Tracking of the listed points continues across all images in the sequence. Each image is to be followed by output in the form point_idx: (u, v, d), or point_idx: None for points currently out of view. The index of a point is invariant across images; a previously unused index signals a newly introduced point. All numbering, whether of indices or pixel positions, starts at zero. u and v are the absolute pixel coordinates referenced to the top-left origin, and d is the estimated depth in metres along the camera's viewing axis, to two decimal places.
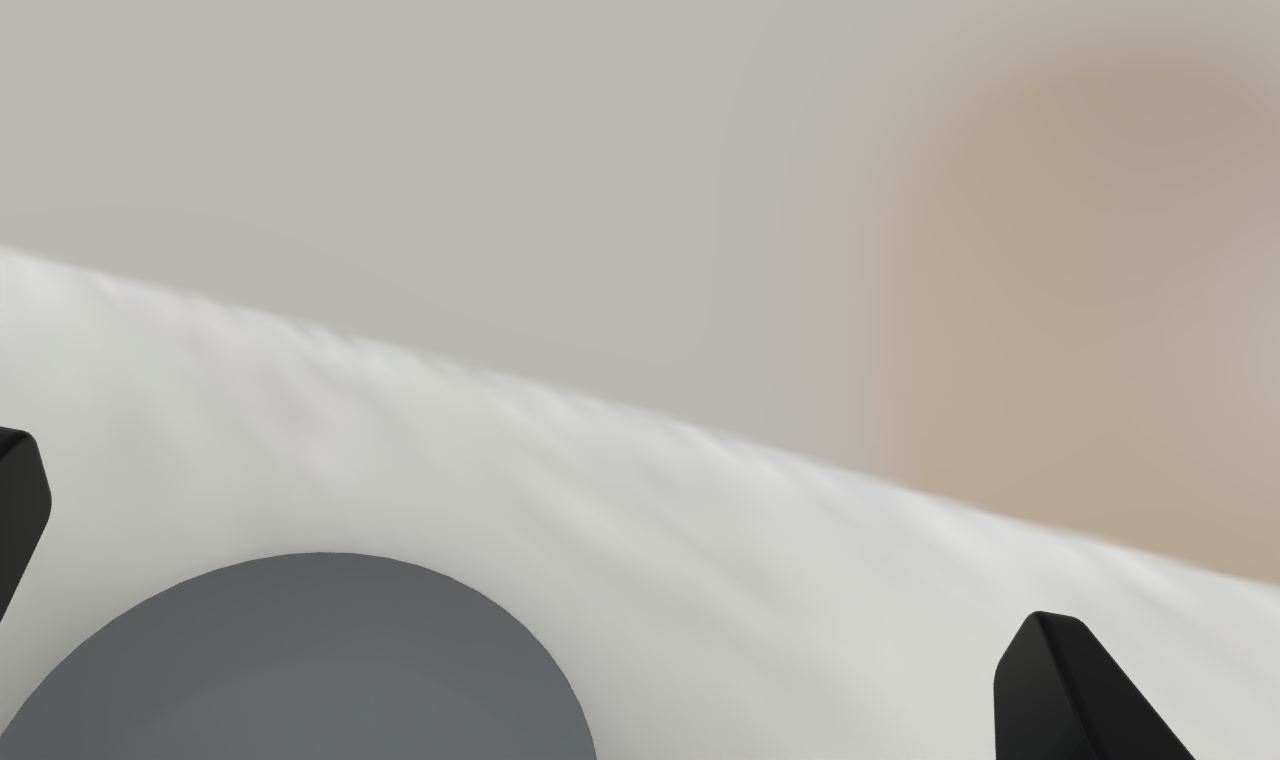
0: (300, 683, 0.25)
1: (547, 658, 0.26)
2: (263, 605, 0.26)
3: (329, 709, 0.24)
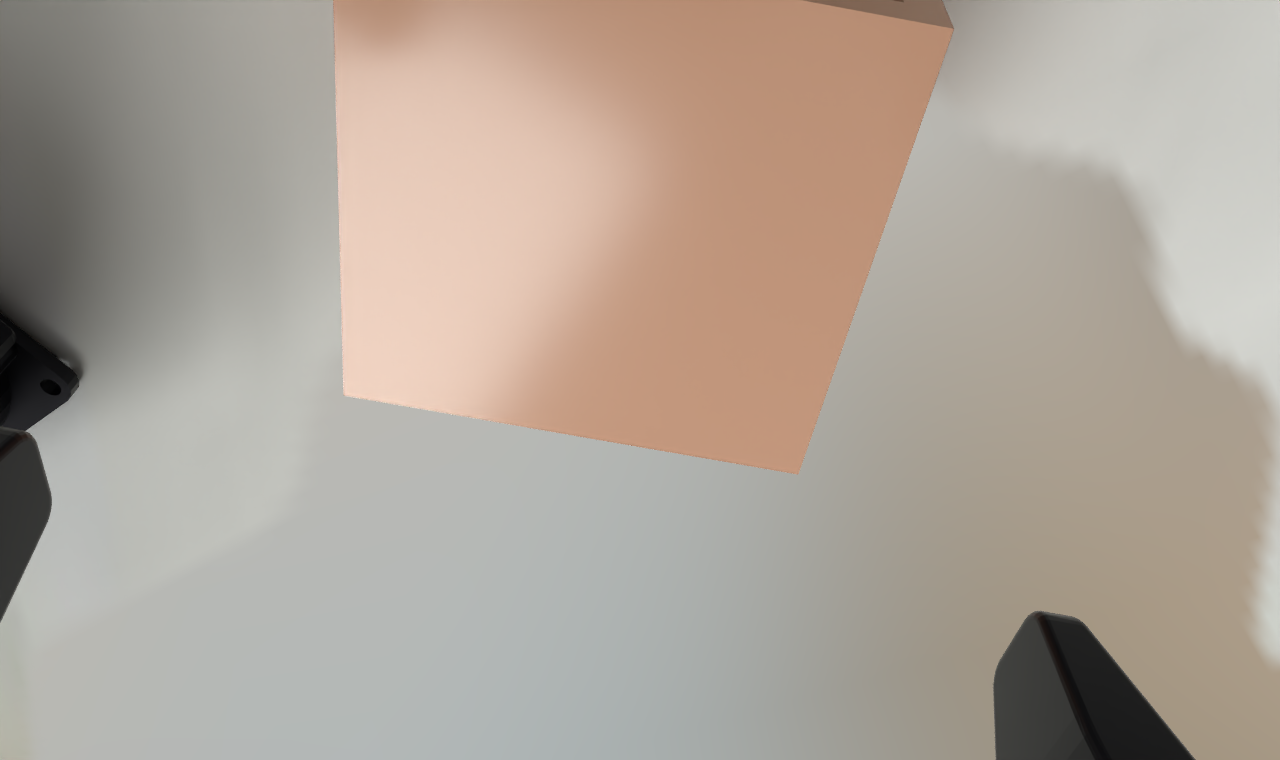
0: None
1: None
2: None
3: None
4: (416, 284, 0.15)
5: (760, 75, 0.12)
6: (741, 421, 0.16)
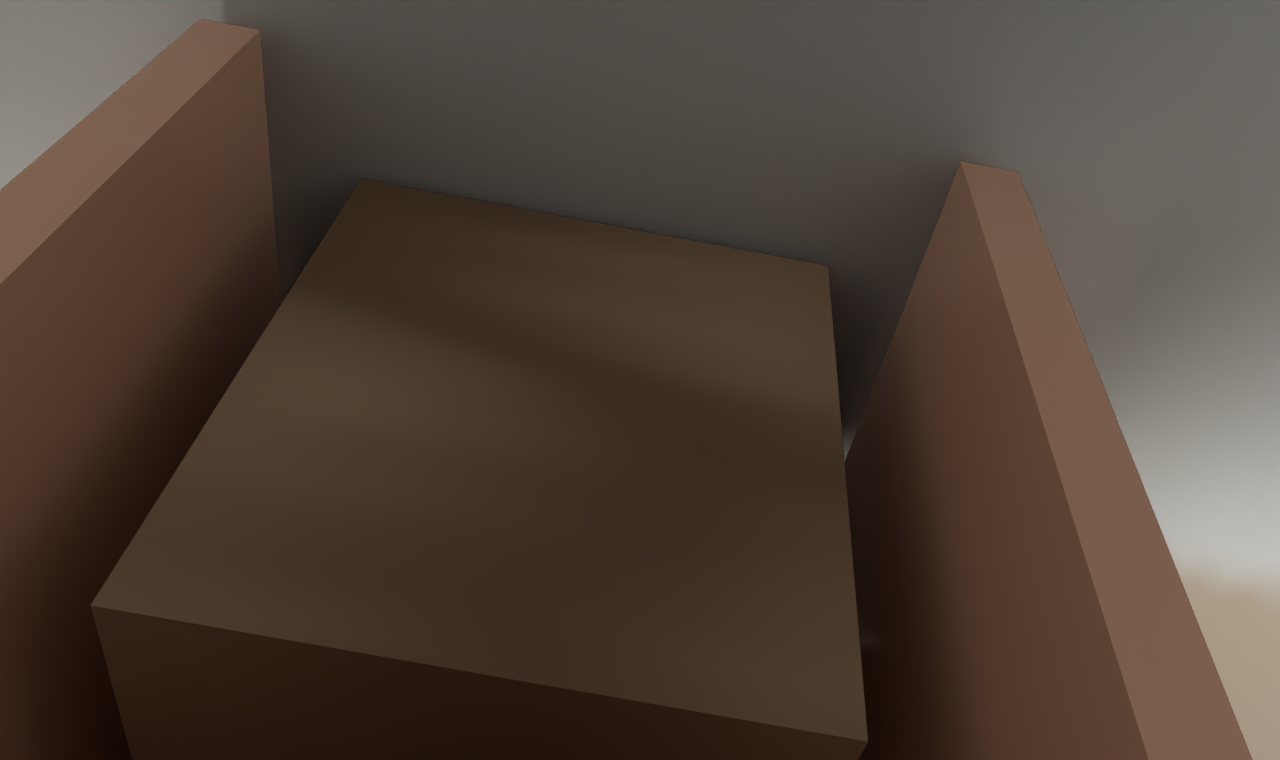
0: None
1: None
2: None
3: None
4: None
5: None
6: None
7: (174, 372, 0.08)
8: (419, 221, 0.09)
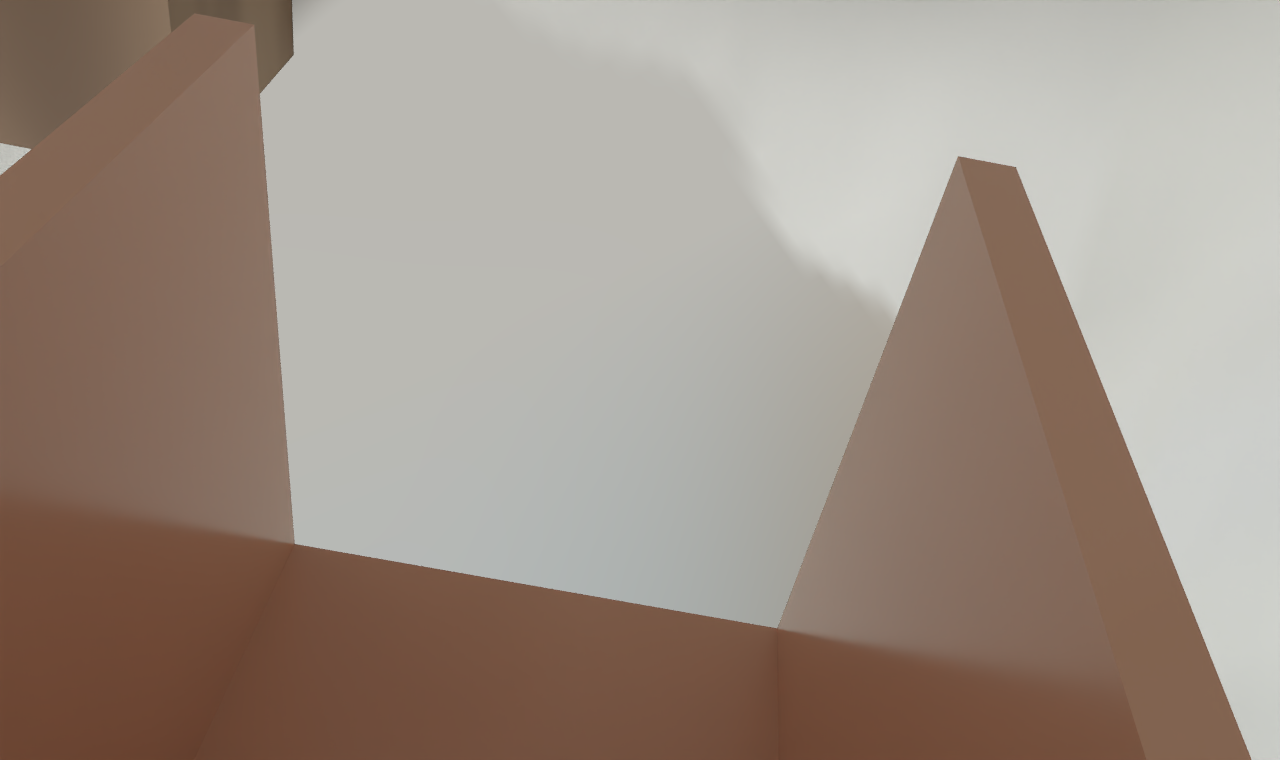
0: None
1: None
2: None
3: None
4: None
5: None
6: None
7: (167, 368, 0.08)
8: None
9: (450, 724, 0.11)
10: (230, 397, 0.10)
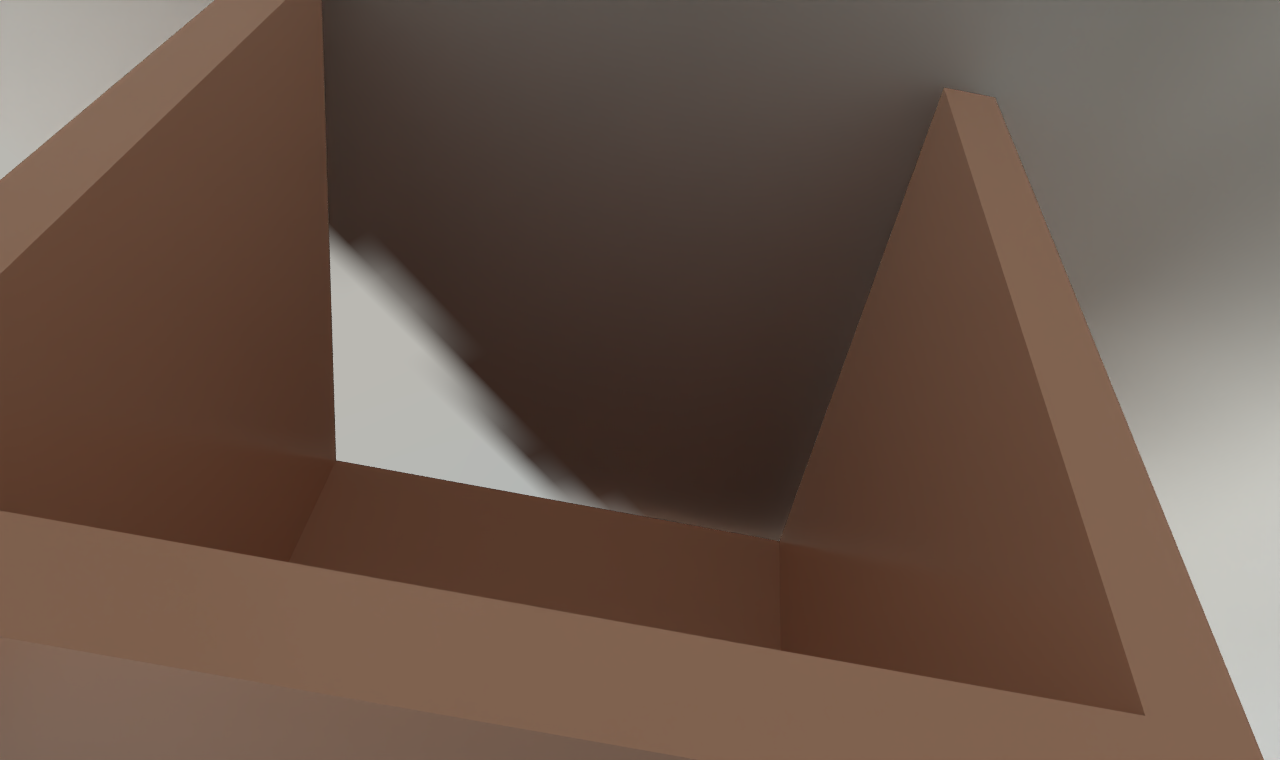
0: None
1: None
2: None
3: None
4: None
5: None
6: None
7: (246, 265, 0.09)
8: None
9: None
10: (290, 306, 0.11)
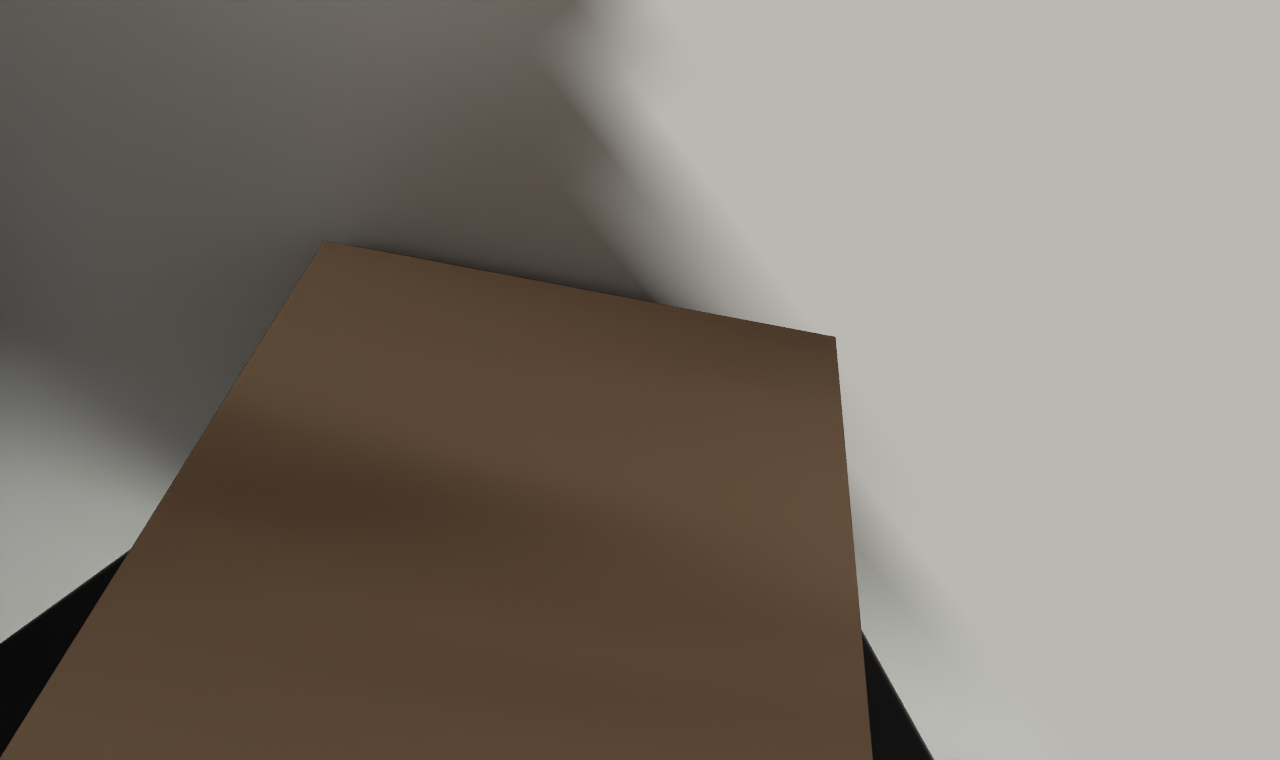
0: None
1: None
2: None
3: None
4: None
5: None
6: None
7: None
8: None
9: None
10: None
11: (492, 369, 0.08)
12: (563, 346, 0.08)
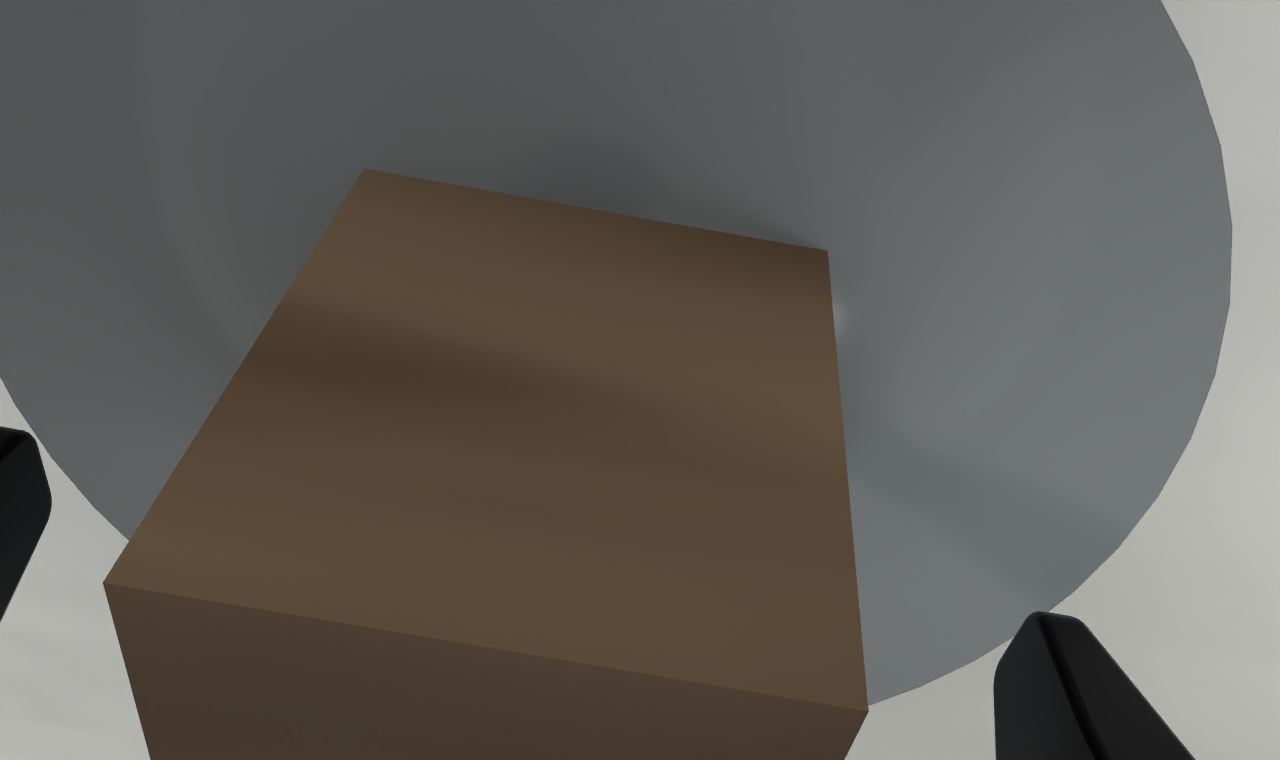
0: None
1: None
2: (92, 197, 0.10)
3: None
4: None
5: None
6: None
7: None
8: None
9: None
10: None
11: (519, 274, 0.09)
12: (582, 255, 0.09)
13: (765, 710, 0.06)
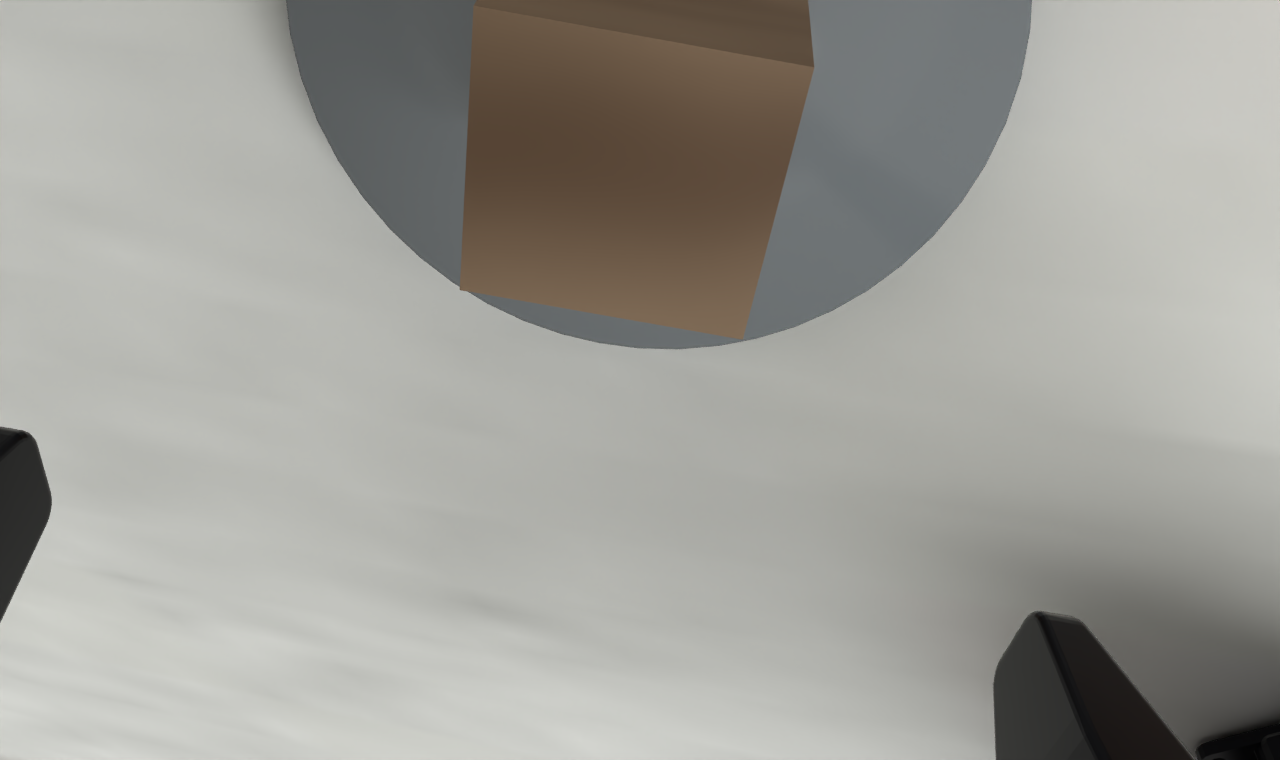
0: None
1: None
2: None
3: None
4: None
5: None
6: None
7: None
8: None
9: None
10: None
11: None
12: None
13: (768, 71, 0.14)
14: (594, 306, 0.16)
